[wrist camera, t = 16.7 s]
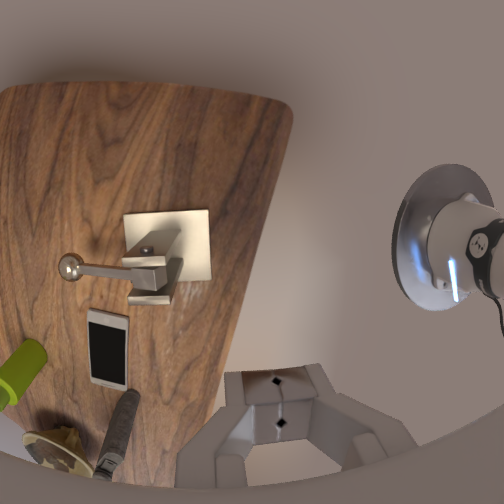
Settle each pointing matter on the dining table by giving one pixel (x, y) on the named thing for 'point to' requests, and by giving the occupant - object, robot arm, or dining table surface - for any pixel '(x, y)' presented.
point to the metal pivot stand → (168, 249)
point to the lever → (112, 272)
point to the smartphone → (108, 349)
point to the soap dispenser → (20, 371)
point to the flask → (117, 436)
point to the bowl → (58, 450)
